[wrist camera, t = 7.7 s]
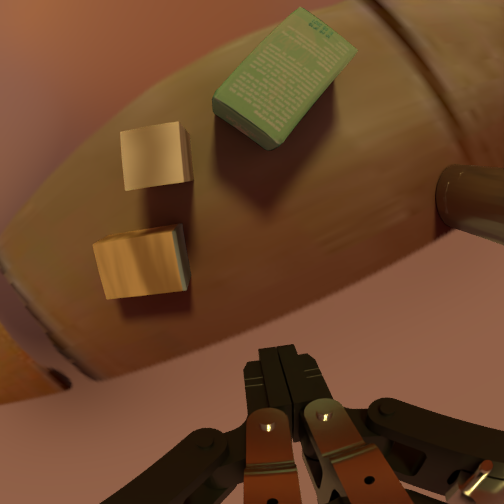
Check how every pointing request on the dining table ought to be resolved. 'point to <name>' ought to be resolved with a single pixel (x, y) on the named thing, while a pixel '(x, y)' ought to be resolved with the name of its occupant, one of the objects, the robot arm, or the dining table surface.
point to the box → (282, 78)
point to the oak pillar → (143, 262)
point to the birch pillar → (156, 156)
